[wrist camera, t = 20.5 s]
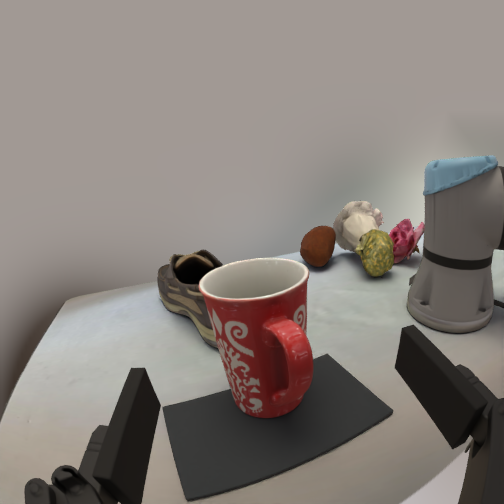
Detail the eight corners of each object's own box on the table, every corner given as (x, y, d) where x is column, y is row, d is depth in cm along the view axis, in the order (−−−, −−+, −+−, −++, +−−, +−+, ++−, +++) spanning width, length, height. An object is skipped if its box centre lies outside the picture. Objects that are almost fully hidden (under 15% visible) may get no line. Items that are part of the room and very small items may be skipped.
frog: (325, 243, 68) (339, 285, 52) (341, 193, 63) (364, 223, 46) (368, 254, 69) (391, 296, 53) (386, 207, 63) (418, 239, 47)
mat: (327, 356, 33) (327, 353, 33) (392, 413, 22) (393, 410, 22) (163, 409, 27) (162, 406, 26) (187, 501, 16) (185, 499, 16)
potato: (329, 277, 59) (295, 276, 64) (344, 246, 66) (314, 246, 71) (320, 247, 55) (285, 247, 60) (337, 217, 63) (305, 219, 68)
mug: (216, 379, 31) (192, 268, 27) (290, 358, 33) (283, 250, 29) (248, 465, 19) (218, 339, 15) (345, 430, 21) (360, 299, 17)
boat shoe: (194, 279, 63) (185, 232, 60) (290, 327, 40) (284, 256, 37) (149, 295, 57) (137, 245, 54) (227, 362, 34) (212, 284, 31)
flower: (388, 279, 58) (367, 239, 60) (402, 268, 64) (384, 232, 66) (430, 256, 49) (407, 212, 52) (440, 247, 56) (419, 209, 58)
